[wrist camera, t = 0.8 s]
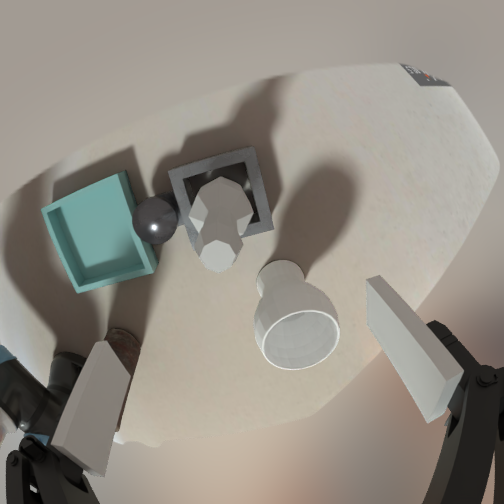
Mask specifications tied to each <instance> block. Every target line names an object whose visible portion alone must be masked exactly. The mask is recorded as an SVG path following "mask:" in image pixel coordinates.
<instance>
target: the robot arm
mask: <svg viewBox="0 0 504 504" xmlns="http://www.w3.org/2000/svg"><path fill="white" fill-rule="evenodd" d="M366 309H367V326H368V327H369V329H370V330H371V332H372V333H373V335H374V336H375V338H376V339H377V341H378V342H379V344H380V346H381V347H382V349H383V350H384V352H385V353H386V355H387V357H388V358H389V360H390V361H391V363H392V364H393V366H394V368H395V369H396V371H397V373H398V374H399V376H400V377H401V379H402V381H403V382H404V384H405V386H406V387H407V389H408V391H409V392H410V394H411V396H412V397H413V399H414V401H415V402H416V404H417V406H418V408H419V409H420V411H421V413H422V415H423V416H424V418H425V420H426V422H427V423H429V422H431V421H433V420H434V419H436V418H438V417H440V416H441V415H443V414H444V412H445V410H446V408H447V406H448V408H449V409H450V411H451V414H450V415H449V417H448V419H447V421H446V423H445V426H447V424H448V426H447V431H446V435H445V438H444V442H443V446H442V450H441V453H440V456H439V460H438V463H437V466H436V469H435V472H434V475H433V478H432V480H431V483H430V486H429V488H428V491H427V493H426V496H425V498H424V501H423V503H422V504H481V502H482V499H483V495H484V492H485V489H486V485H487V481H488V477H489V473H490V468H491V464H492V459H493V453H494V452H495V488H494V503H493V504H504V367H502V368H499V369H494V368H493V367H492V366H488V365H480V364H479V363H478V362H477V361H476V360H475V358H474V357H473V356H472V355H471V354H470V353H469V351H467V349H466V348H465V347H464V346H463V345H462V344H461V342H460V341H458V339H457V338H456V337H455V336H454V335H452V332H450V330H449V329H448V328H447V327H446V326H445V325H443V324H441V323H439V322H438V321H436V320H434V321H432V322H430V323H428V324H425V323H424V322H423V321H422V320H421V319H420V318H419V316H418V315H417V314H416V313H415V312H414V311H413V310H412V309H411V308H410V306H409V305H408V304H407V303H406V302H405V301H404V300H403V299H402V298H401V297H400V296H399V295H398V293H397V292H396V291H395V290H394V289H393V288H392V287H391V286H390V285H389V284H388V283H387V282H386V281H385V280H384V279H383V278H382V277H381V276H380V275H378V276H375V277H372V278H369V279H366ZM130 377H131V376H130V374H129V373H128V372H127V370H126V369H125V367H124V366H123V364H122V363H121V362H120V360H119V359H118V357H117V356H116V354H115V353H114V351H113V350H112V348H111V347H110V345H109V343H108V342H107V340H106V341H100V342H96V343H95V345H94V346H93V348H92V350H91V352H90V354H89V356H88V358H87V359H85V358H83V357H81V356H79V355H76V354H73V353H67V352H63V353H59V354H57V355H56V356H55V358H54V360H53V361H52V363H51V369H50V376H49V383H48V386H47V388H45V387H44V386H43V385H42V384H41V383H40V382H39V381H38V380H37V379H36V378H35V377H34V376H33V375H32V374H31V373H30V372H29V371H28V370H27V369H26V368H25V367H24V366H23V365H22V364H21V363H20V362H19V361H18V360H17V358H16V357H15V356H13V355H12V354H11V353H10V352H9V351H8V350H7V348H6V347H4V346H3V345H0V448H1V445H2V443H3V440H4V438H5V435H6V434H7V433H15V432H16V431H17V429H18V428H20V429H21V430H22V431H23V432H25V434H24V438H23V439H22V440H21V442H20V445H19V451H18V450H13V451H12V452H10V453H9V454H8V457H7V461H6V499H7V504H100V503H99V501H98V499H97V498H96V496H95V494H94V492H93V490H92V488H91V486H90V484H89V482H88V479H87V478H86V476H85V475H84V474H82V473H83V469H84V470H85V471H87V472H88V473H90V474H91V475H94V476H100V477H105V472H106V468H107V463H108V458H109V454H110V450H111V446H112V442H113V438H114V434H115V430H116V426H117V422H118V419H119V415H120V411H121V408H122V404H123V401H124V397H125V394H126V391H127V387H128V384H129V381H130ZM30 485H32V486H33V487H34V488H36V489H37V493H35V492H33V491H32V490H30Z"/></svg>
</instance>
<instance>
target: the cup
mask: <svg viewBox="0 0 504 504" xmlns="http://www.w3.org/2000/svg"><path fill="white" fill-rule="evenodd" d="M257 289H258V292H259V294H260V296H261V300H260V301H259V304H258V306H257V309H256V312H255V315H254V324H253V326H254V334H255V338H256V341H257V344H258V346H259V348H260V350H261V352H262V353H263V355H264V357H265V358H266V359H267V361H268V362H270V363H271V364H273V365H274V366H276V367H279V368H282V369H287V370H298V369H304V368H308V367H311V366H313V365H315V364H318V363H320V362H321V361H322V360H324V359H325V358H327V357H328V356H329V355H330V354H331V353H332V352H333V350H334V349H335V347H336V345H337V344H338V341H339V337H340V326H339V320H338V315H337V312H336V310H335V307H334V306H333V304H332V302H331V301H330V299H329V298H328V296H327V295H326V294H325V293H324V292H323V291H321V290H320V289H318V288H316V287H315V286H313V285H311V284H309V283H307V282H305V278H304V275H303V272H302V270H301V268H300V267H299V266H298V265H297V264H295V263H293V262H291V261H288V260H278V261H273V262H271V263H269V264H267V265H266V266H265V267H264V268H263V269H262V270H261V271H260V273H259V275H258V277H257Z"/></svg>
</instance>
